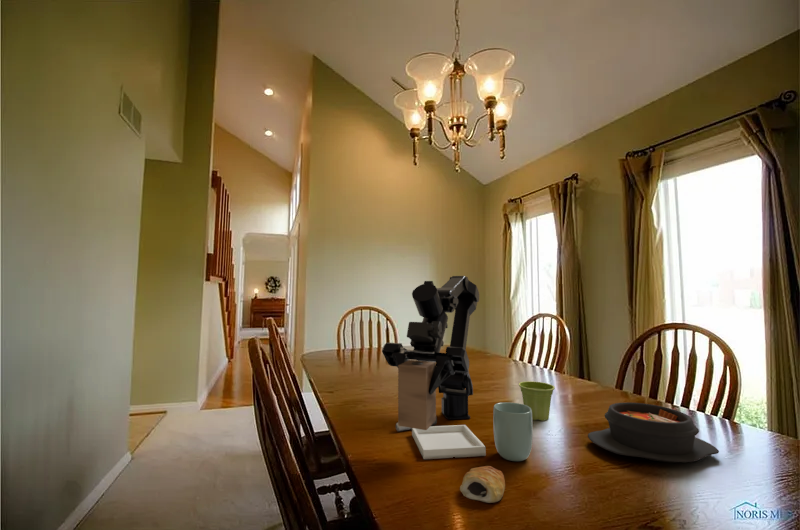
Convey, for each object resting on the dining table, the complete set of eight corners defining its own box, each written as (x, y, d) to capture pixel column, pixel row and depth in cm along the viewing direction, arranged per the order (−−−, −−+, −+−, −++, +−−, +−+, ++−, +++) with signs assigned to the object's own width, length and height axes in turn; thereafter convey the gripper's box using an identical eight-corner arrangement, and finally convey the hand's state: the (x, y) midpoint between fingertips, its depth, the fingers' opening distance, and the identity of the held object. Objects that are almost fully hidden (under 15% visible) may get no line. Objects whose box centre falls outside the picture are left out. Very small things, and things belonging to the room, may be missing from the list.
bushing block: (409, 416, 79) (409, 359, 80) (435, 420, 77) (435, 361, 78) (398, 425, 74) (398, 364, 75) (426, 430, 72) (426, 367, 72)
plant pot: (562, 419, 100) (561, 386, 101) (541, 425, 95) (540, 391, 95) (533, 410, 108) (532, 379, 108) (512, 415, 102) (511, 383, 103)
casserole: (671, 434, 89) (669, 399, 90) (748, 471, 71) (744, 426, 71) (571, 435, 88) (570, 400, 89) (622, 473, 69) (620, 427, 70)
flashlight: (431, 423, 96) (430, 412, 96) (437, 425, 94) (436, 414, 94) (394, 430, 91) (394, 418, 91) (400, 433, 88) (400, 420, 89)
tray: (465, 432, 89) (465, 424, 90) (485, 455, 76) (485, 446, 77) (412, 435, 87) (412, 427, 88) (423, 459, 74) (423, 450, 75)
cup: (536, 467, 71) (534, 414, 72) (494, 463, 73) (494, 411, 74) (530, 451, 79) (529, 403, 80) (492, 447, 80) (492, 401, 81)
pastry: (476, 474, 69) (476, 453, 69) (513, 484, 65) (513, 462, 66) (457, 497, 61) (457, 473, 61) (498, 510, 57) (497, 484, 58)
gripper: (385, 307, 84) (361, 364, 74) (465, 308, 77) (451, 373, 66) (399, 337, 91) (379, 394, 80) (474, 341, 84) (462, 405, 73)
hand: (415, 391), depth 75 cm, fingers closed on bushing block, 6 cm apart
